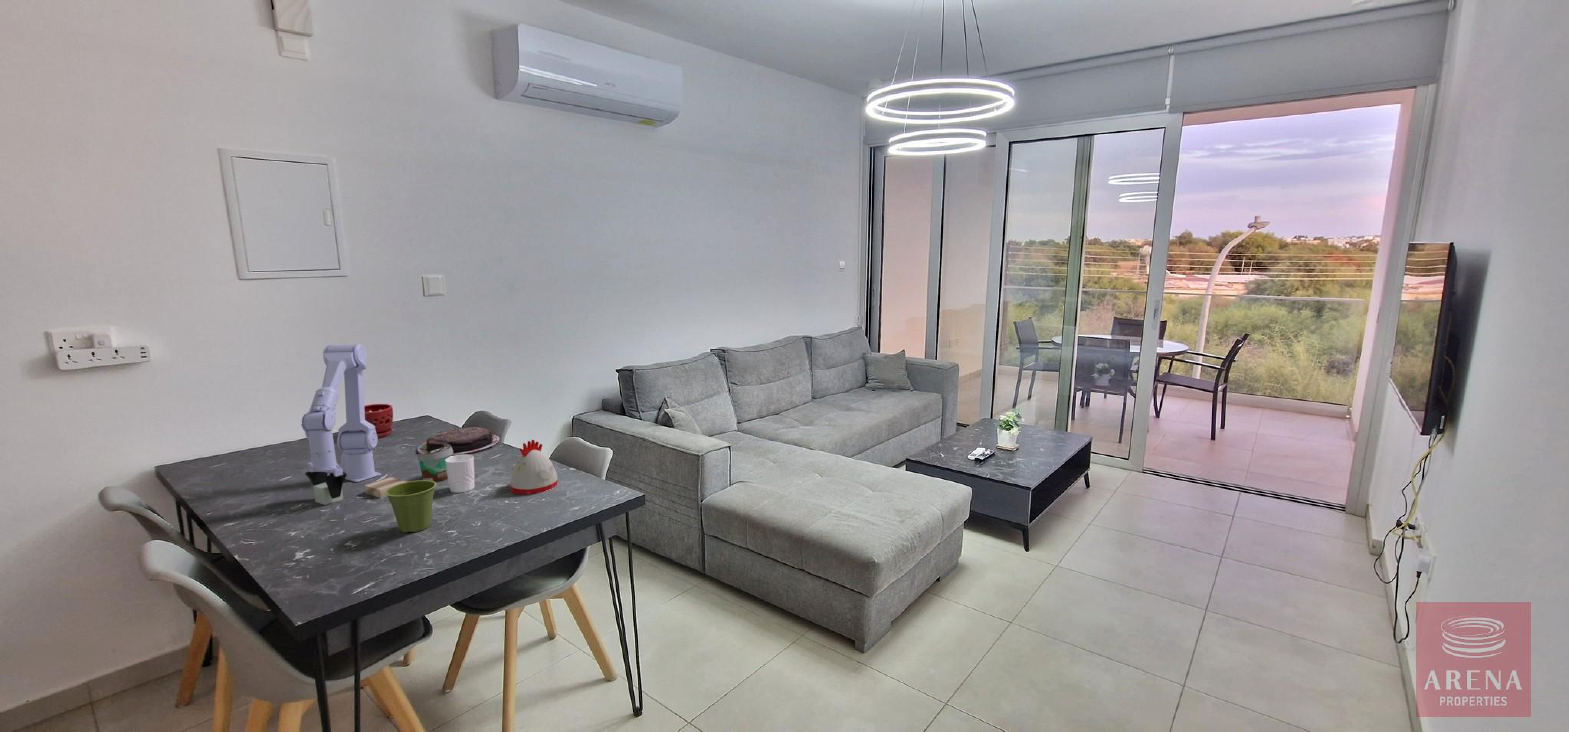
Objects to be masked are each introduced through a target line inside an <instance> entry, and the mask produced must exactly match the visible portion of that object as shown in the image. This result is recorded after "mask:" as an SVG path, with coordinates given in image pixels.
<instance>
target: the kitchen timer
mask: <svg viewBox="0 0 1569 732" xmlns="http://www.w3.org/2000/svg"><path fill="white" fill-rule="evenodd" d="M542 448H543V443H540V442H539V441H535V440H534V439H531V441H530V440H527V444H526V443H524V442H523V443H522V448H520V447H519V451H520V453H521V455H520V456H519V457H518V459H516V462H515V463H514V464H513V465H512V466H511V470H512V472H511V476H510V479H509V487H510V489H509V490H510V491H511V492H512V493H514V494H518V495H534V494H533V493H536V494H539V493H538V492H541V493H545V492H547V491H546V490H548V491H550V490H549V489H551V490H553V489H555V488H556V487H557V486H558V484H557V482H558V483H559V480H558V474H557V471H556V469H555V466H554V465H553V464H554V463H552V461H551V459H550V458H549V457H548V455H546V454H545V453H543V452H542ZM556 485H557V486H556ZM555 486H556V487H555ZM554 487H555V488H554ZM552 488H553V489H552ZM544 491H545V492H544Z"/></svg>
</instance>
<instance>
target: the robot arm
mask: <svg viewBox="0 0 1569 732" xmlns="http://www.w3.org/2000/svg"><path fill="white" fill-rule="evenodd" d="M367 356H368V355H367V351H366V349H365V348H364V346H363V345H362V344H360V343H357V344H327V345H326V346H325V347H324V349H323V352H322V358H323V361H324V362H323V363H324V364H325V365H326V367H325V372H324V377H323V381H322V386H321V388H318V389H317V390H315V393H314V396H313V399H312V402H311V405H310V408H309V411H308V412H306V413H305V414H303V416H302V418H301V423H300V424H301V428H302V430H303V431H304V433H305V434H304V435H305V437H306V438H307V439H308V444H309V452H310V459H311V461H310V462H307V468H308V471H306V472H304V475H305V476H306V477H307V478H308V479H309V480H310V482H311V484H312V486H315V485H319V484H322V483H326V484H327V486H328V489H329V493H330V496H331V498H332V499H334V498H337V497H340V495H341V490H342V491H343V485H344V482H345V480H348V481H351V482H355V483H358V482H362V481H366V480H368V479H372V478H375V477H378V476H381V475H382V473H381V472H378V471H376V469H375V463H374V454H373V452H374V451H373V450H374V449H375V448H376V447H377V445H378V442H379V440H378V439H379V438H378V437H377V434H376V430H375V426H374V425H372V424H371V423H369V422H367V421H366V420H365V410H364V406H365V394H364V393H365V391H364V372H363V370H366V369H367V367H368V366H367V365H368V361H367V360H368V359H367V358H368V357H367ZM342 377H344V379H343V380H344V396H345V397H344V400H345V402H344V403H345V420H346V422H345V423H343V425H341V426H340V427H339V428H338V432H337V433H338V434H337V438H336V445H337V448H338V449H339V450H340V451H342V454H341V457H340V462H341V467H340V466H339V464H338V462H337V457H336V456H337V455H336V450H335V449H336V448H335V442H334V435H333V429H334V427H335V425H336V411H335V409H336V407H337V404H338V400H339V397H340V394H339V393H338V391H337V390H338V387H339V384H340V383H341V382H340V381H341V380H342ZM359 430H364V431H359ZM328 474H329V475H328Z"/></svg>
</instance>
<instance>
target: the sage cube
mask: <svg viewBox="0 0 1569 732" xmlns="http://www.w3.org/2000/svg"><path fill="white" fill-rule="evenodd" d="M312 486H313V485H312ZM312 489H313V493H314V501H315V503H318V504H321V505H325V506H326V505H329V504H332V503H335V502H339V501H342V500H344V494H343V493H344V492H343V489H342V490H341V495H340V497H337V498H334V499H332V498H331V496H330V493H329V489H328V486H327V484H326V483H322V484H319V485H315V486H313V488H312Z"/></svg>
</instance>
